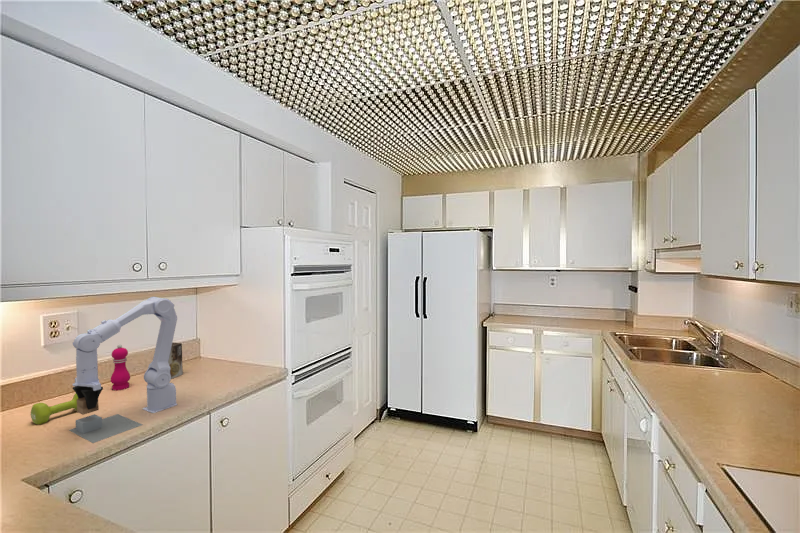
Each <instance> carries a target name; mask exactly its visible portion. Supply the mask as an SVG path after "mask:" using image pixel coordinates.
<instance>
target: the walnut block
mask: <svg viewBox="0 0 800 533" xmlns="http://www.w3.org/2000/svg"><path fill="white" fill-rule="evenodd" d="M97 411H99V400H98V401H97V405H96V408H93V409H88V408H87V405H86V400H85V397H83V398H80V399H77V411H76V412H77V413H78V414H80V415H82V416H85V415H87V414H90V413H94V412H97Z"/></svg>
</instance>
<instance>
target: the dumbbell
mask: <svg viewBox="0 0 800 533" xmlns="http://www.w3.org/2000/svg"><path fill="white" fill-rule="evenodd" d="M77 399H78V396H77V394H76V393H74V395H73V398H72V399H71V400H69V401H65V402H61V403H57V404H55V405H52V406H49V405H48V404H47V403H45V402H37V403H33V405H32V407H31V409H30V418H31V421H32V423H33V424H35V425H42V424H45V423H47V422H48V421H49V419H50V417H51V416H52V415H54V414H58V413H61V412H64V411H68V410H71V409H74V411H76V412H77Z"/></svg>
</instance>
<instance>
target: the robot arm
mask: <svg viewBox="0 0 800 533" xmlns="http://www.w3.org/2000/svg"><path fill="white" fill-rule="evenodd" d="M144 315H155V316H156V317H157V318H158V320H160V326H159V330H158V335H157V340H156V344H155V348H154V353H153V358H152V361H151V362H150V363H149V364H148V367H147V370H146V371H145V372H144V374H143V380H144V381H145V383H146V384H147V385H146V407H142V410H144V411H146V412H148V413H151V414H155V413H158V412H162V411H164V410H166V409H170V408H172V407H175V406H178V403H177V388H176V385H175V384H174V383H173V382H171V380H172V379H171V375H170V369H171V368H170V366H169V363H168V361H169V356H170V351H171V346H172V342H173V340H174V336H175V331H176V326H177V323H178V315H177V313H176V309H175V304H174V302H172V301H171V300H170V299H169V298H165V297H164V298H162V297H157V296H151V297H149V298H147V299H144V300H142V301H141V302H139V303H138V304H137V305H135V306H134V307H132V308H130V309H129V310H128V311H126V312H125V313H123V314H122V315H120V316H118V317H117V318H115V319H110V318H109V319H107V320H106V319H104V320H102V321H100V324H99V325H97V326H95V327H94V328H93V327H92V328H89V329H88V330H86V332H85V333H80V334H78V335H77V336H76V337H75V339H74V340H73V342H72V346H73V348H75V369H76V377H75V378H74V383H73V382H72V390H73V391H74V392H75V394H77V396H78V399H80V398H83V397H85V400H86V405H87V408H88V409H93V408H96V405H97V401H98V402H99V398H100V395H101V393H102V391H103V390H104V387H103V386H102V383H100V379H99V371H98V370H99V369H98V368H99V365H98V361H99V360H98V349H99V347H100V345H101V344H102V343H104V342H105V341H107V340H108V339H110V338H112V337H114V336H115V335H117V334H119V333H120V331H121V328H122V327H124V326H125V325H128V324H129V323H131V322H133V321H134V320H136V319H138V318H139V317H142V316H144ZM173 343H174V342H173Z"/></svg>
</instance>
